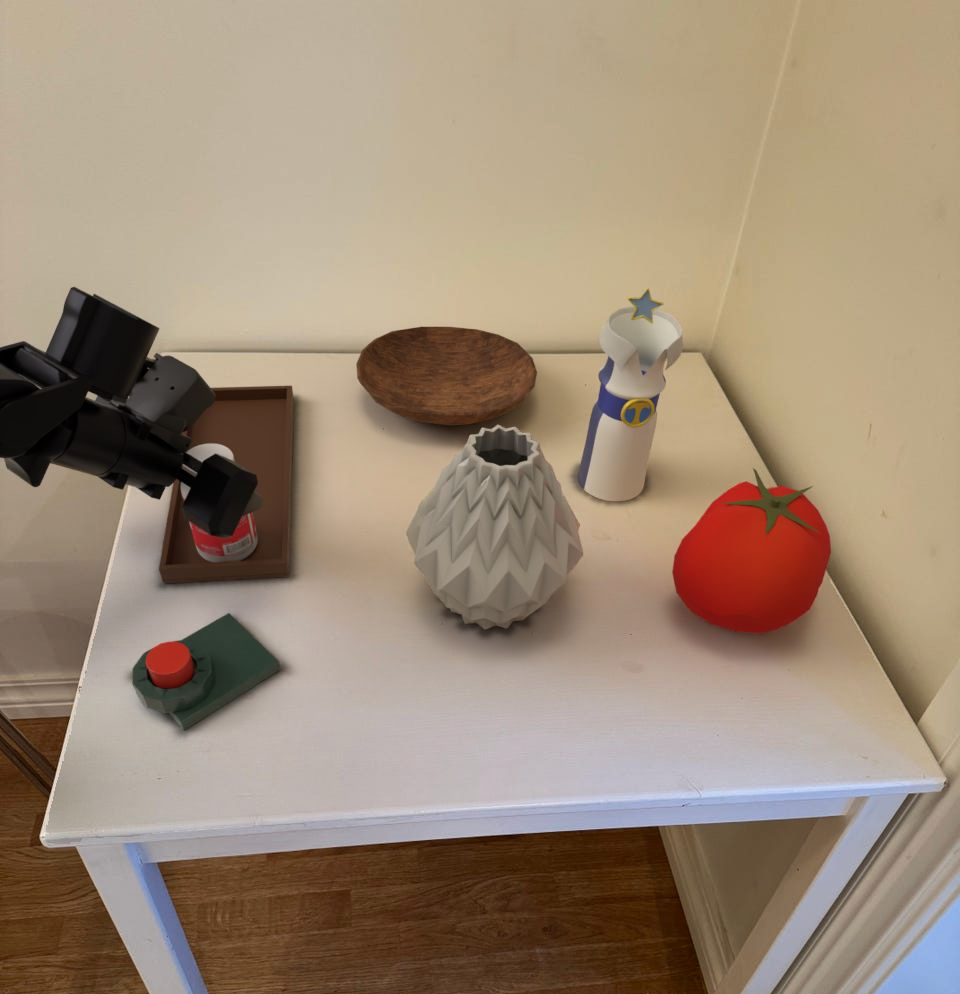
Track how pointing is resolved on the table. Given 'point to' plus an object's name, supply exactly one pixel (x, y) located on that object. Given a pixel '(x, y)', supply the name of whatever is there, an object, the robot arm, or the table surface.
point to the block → (209, 672)
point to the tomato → (753, 559)
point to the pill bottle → (244, 533)
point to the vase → (496, 530)
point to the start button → (170, 665)
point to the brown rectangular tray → (267, 453)
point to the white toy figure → (628, 398)
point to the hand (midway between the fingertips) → (228, 482)
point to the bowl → (446, 374)
